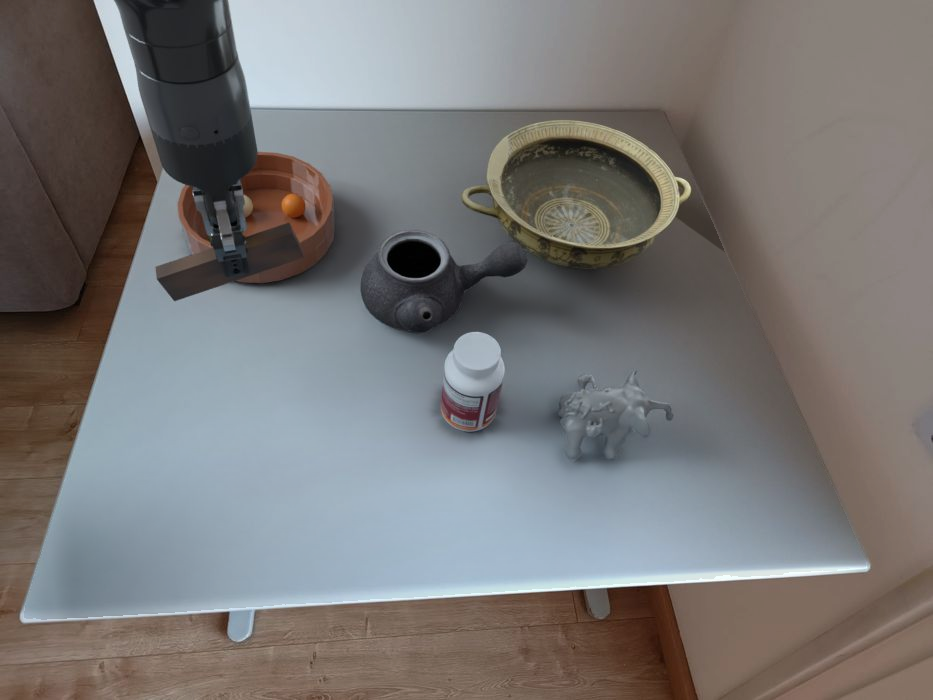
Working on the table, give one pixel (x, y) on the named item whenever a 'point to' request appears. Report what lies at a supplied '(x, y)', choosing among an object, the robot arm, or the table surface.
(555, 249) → the ceramic bowl
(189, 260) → the stick
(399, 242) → the teapot
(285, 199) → the ball orange
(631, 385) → the gray elephant figurine
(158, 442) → the table surface
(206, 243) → the bowl
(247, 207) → the ball cream
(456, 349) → the pill bottle
